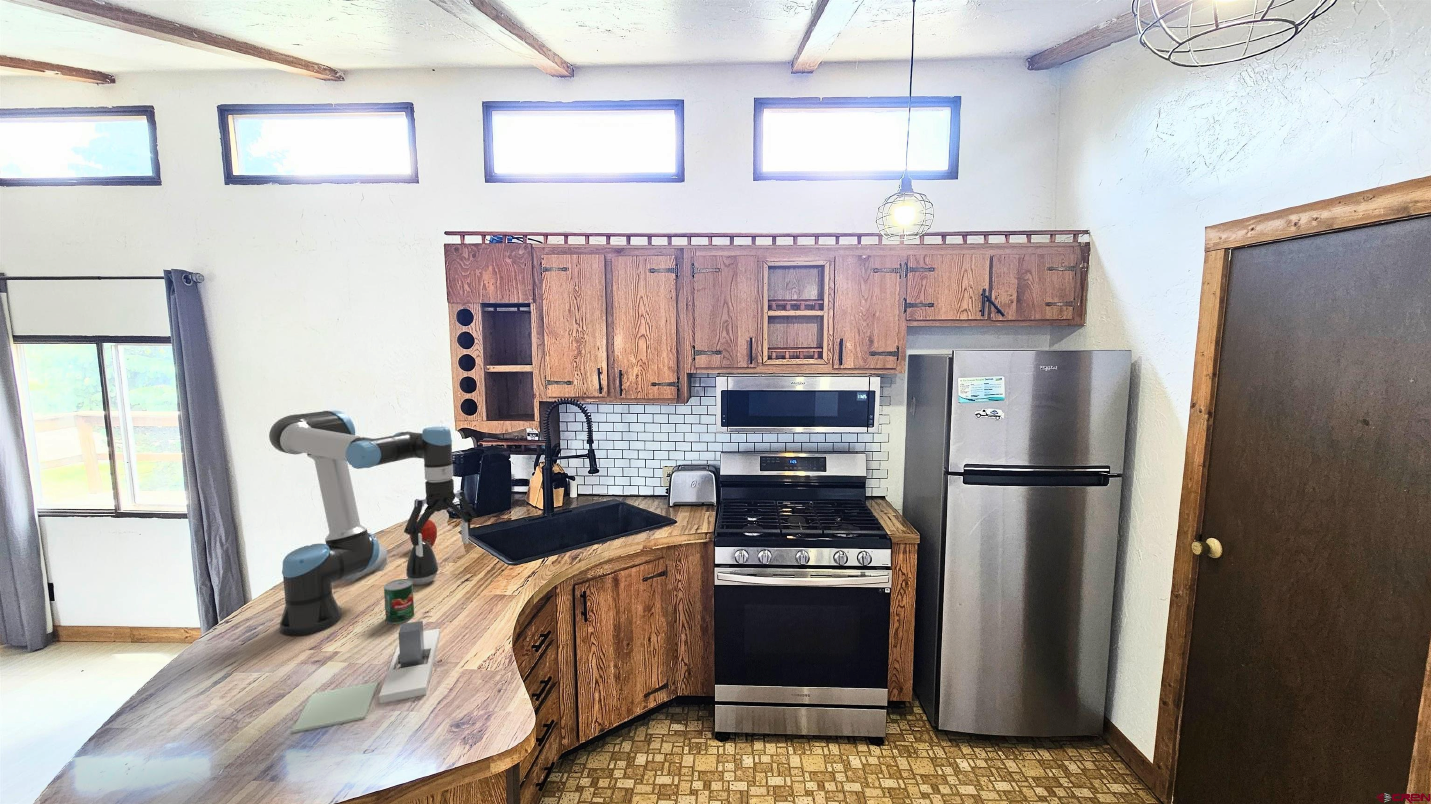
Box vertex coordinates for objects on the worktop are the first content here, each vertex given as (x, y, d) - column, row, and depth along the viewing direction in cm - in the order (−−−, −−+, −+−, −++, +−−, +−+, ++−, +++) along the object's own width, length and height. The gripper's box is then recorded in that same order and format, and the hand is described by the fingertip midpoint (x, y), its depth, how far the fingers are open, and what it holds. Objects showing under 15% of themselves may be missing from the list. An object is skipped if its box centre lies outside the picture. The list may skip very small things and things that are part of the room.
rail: (379, 703, 134) (379, 695, 133) (401, 641, 162) (401, 634, 161) (426, 694, 137) (425, 686, 137) (440, 635, 165) (439, 628, 165)
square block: (400, 672, 146) (398, 633, 145) (404, 662, 151) (401, 623, 150) (422, 669, 148) (419, 629, 147) (424, 659, 152) (422, 620, 151)
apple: (411, 547, 236) (409, 515, 234) (438, 544, 240) (436, 512, 238) (409, 556, 226) (408, 522, 225) (437, 552, 230) (435, 519, 229)
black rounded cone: (444, 576, 206) (442, 536, 205) (427, 588, 196) (425, 547, 194) (418, 575, 207) (416, 535, 206) (400, 587, 197) (398, 545, 195)
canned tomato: (401, 625, 171) (399, 590, 170) (379, 622, 172) (377, 588, 171) (420, 613, 179) (418, 580, 177) (398, 610, 180) (397, 577, 179)
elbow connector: (400, 567, 212) (380, 555, 224) (392, 543, 209) (372, 531, 221) (349, 593, 199) (330, 578, 212) (339, 567, 196) (321, 553, 209)
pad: (292, 733, 123) (291, 730, 123) (312, 695, 136) (312, 693, 136) (365, 718, 128) (364, 716, 128) (378, 683, 141) (378, 681, 141)
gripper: (399, 490, 153) (404, 564, 155) (485, 473, 172) (488, 540, 174) (388, 485, 157) (393, 558, 159) (473, 470, 177) (476, 535, 179)
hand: (443, 549), depth 167 cm, fingers open, 13 cm apart
